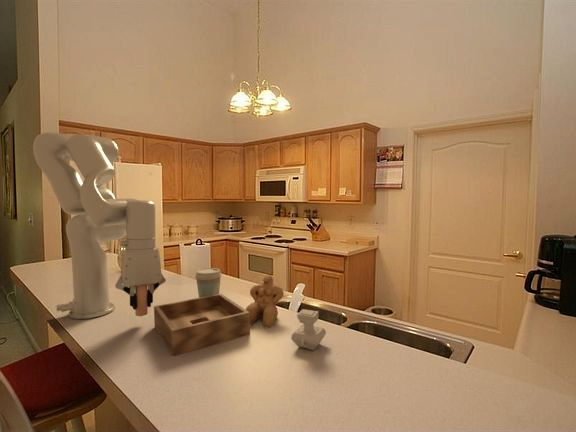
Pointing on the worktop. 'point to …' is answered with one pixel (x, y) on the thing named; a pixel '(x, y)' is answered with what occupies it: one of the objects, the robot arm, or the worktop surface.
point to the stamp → (308, 330)
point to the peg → (141, 300)
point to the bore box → (200, 322)
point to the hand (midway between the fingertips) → (141, 306)
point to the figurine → (265, 301)
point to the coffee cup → (208, 281)
